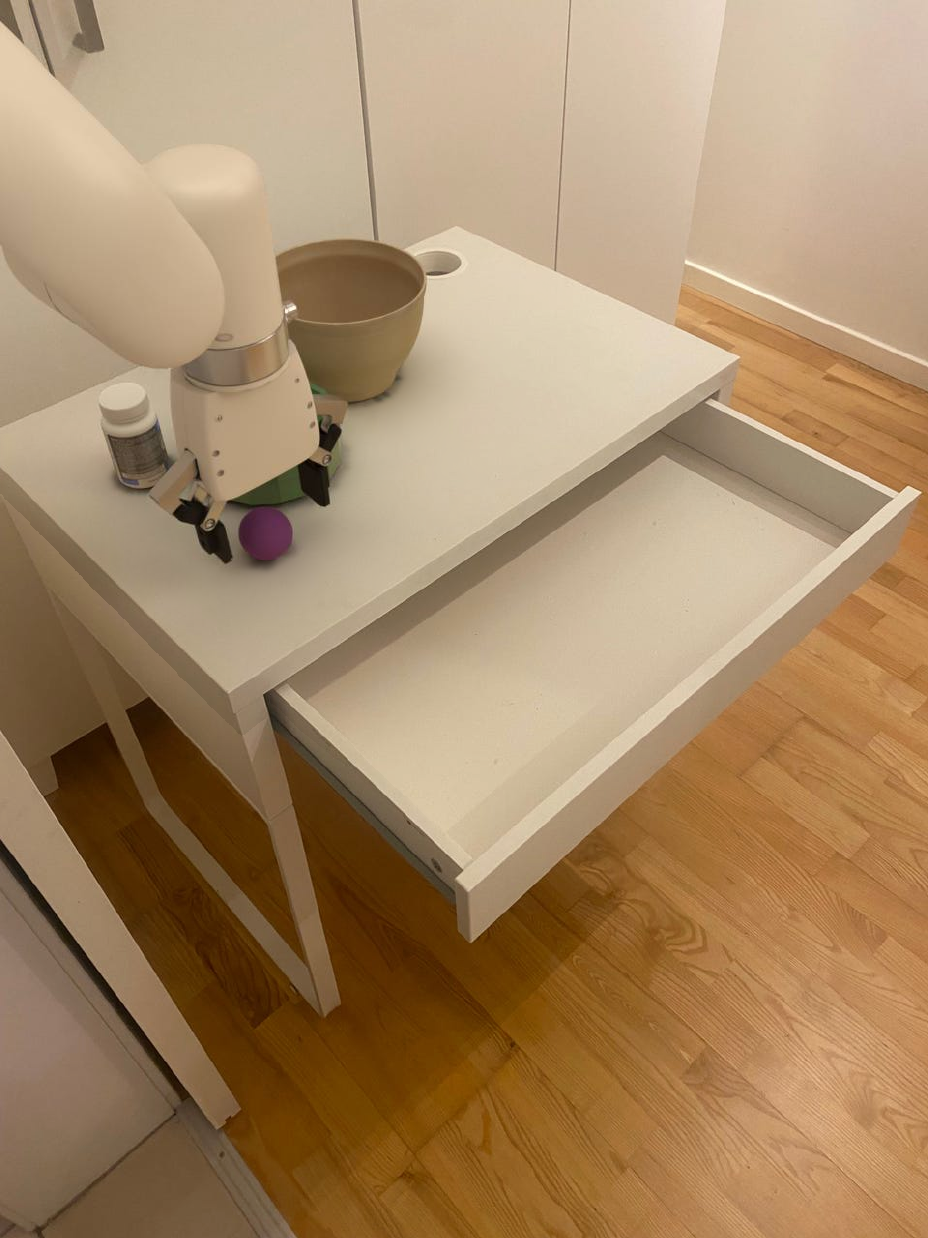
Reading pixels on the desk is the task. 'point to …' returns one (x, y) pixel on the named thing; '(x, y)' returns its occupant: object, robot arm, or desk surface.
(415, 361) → the desk surface
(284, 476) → the bowl
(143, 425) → the pill bottle
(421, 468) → the desk surface
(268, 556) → the ball
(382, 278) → the planter bowl
